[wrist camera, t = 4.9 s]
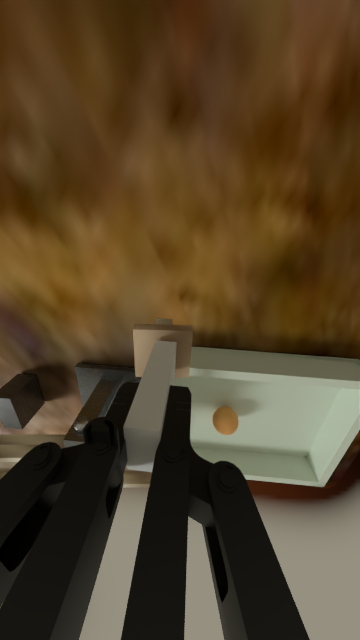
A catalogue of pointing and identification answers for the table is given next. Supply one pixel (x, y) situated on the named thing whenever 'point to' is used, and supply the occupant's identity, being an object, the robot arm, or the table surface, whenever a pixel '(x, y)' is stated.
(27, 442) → the lever
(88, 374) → the stand
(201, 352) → the tray
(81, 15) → the table surface
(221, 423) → the ball
